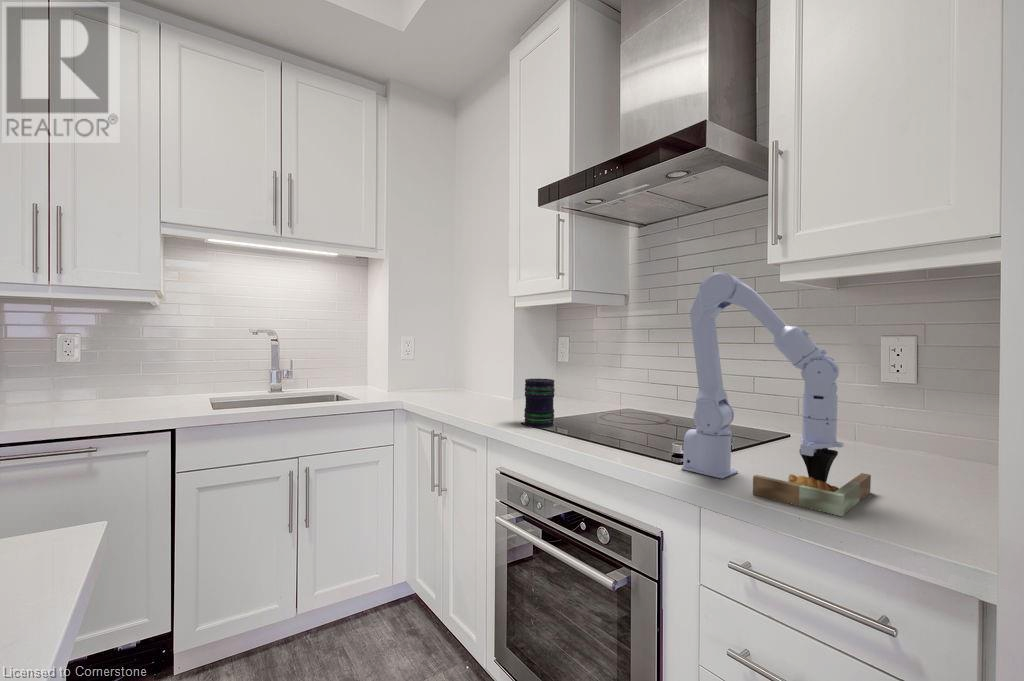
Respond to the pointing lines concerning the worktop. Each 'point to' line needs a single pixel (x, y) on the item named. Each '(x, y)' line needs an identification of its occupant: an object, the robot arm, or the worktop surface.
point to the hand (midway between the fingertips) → (817, 486)
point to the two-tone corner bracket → (814, 493)
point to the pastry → (811, 483)
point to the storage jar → (539, 403)
